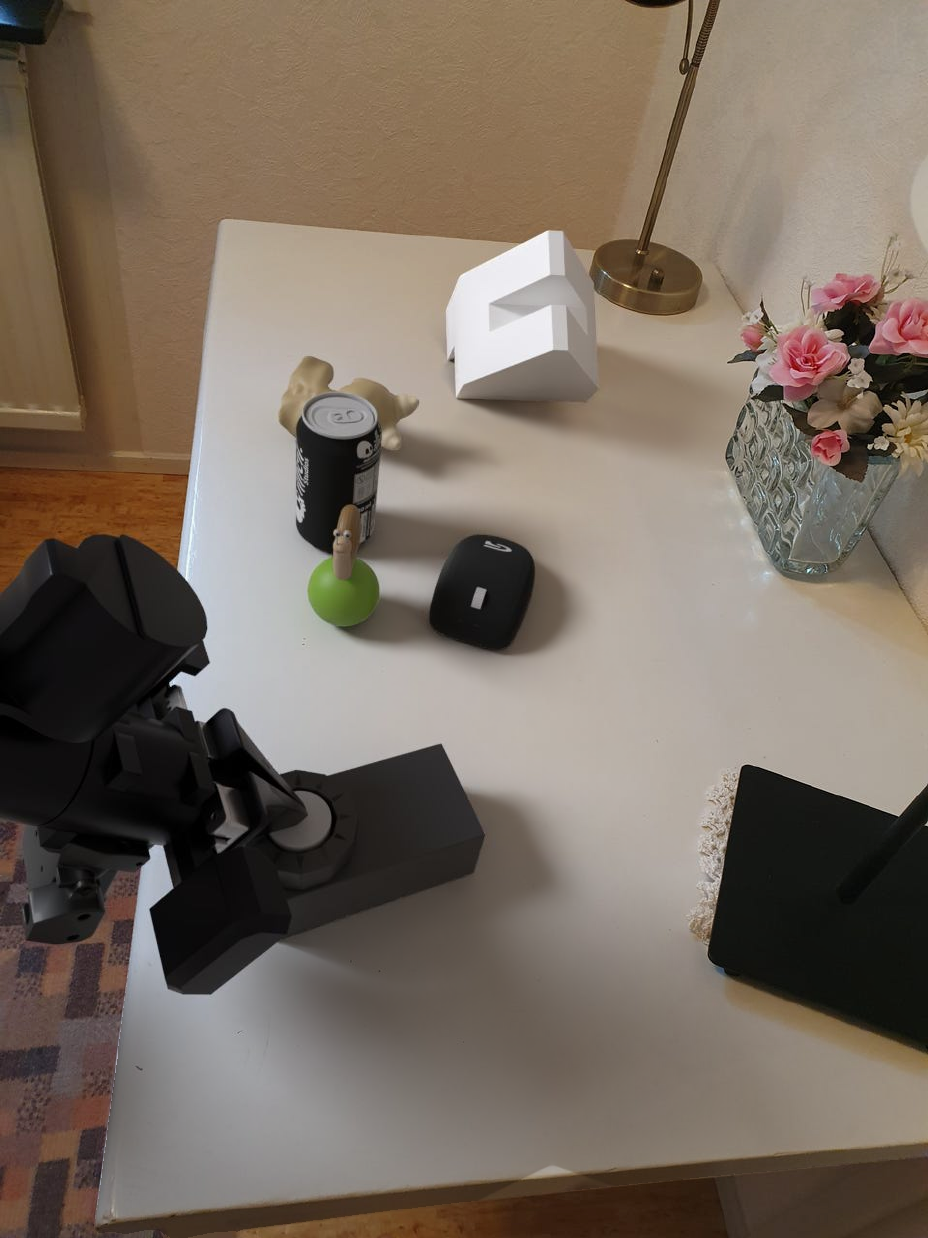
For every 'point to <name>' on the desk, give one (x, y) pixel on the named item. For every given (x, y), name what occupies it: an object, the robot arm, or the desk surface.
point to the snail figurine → (344, 577)
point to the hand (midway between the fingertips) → (300, 815)
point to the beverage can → (336, 465)
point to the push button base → (379, 837)
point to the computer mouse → (483, 591)
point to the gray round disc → (305, 827)
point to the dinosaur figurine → (319, 374)
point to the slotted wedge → (525, 325)
